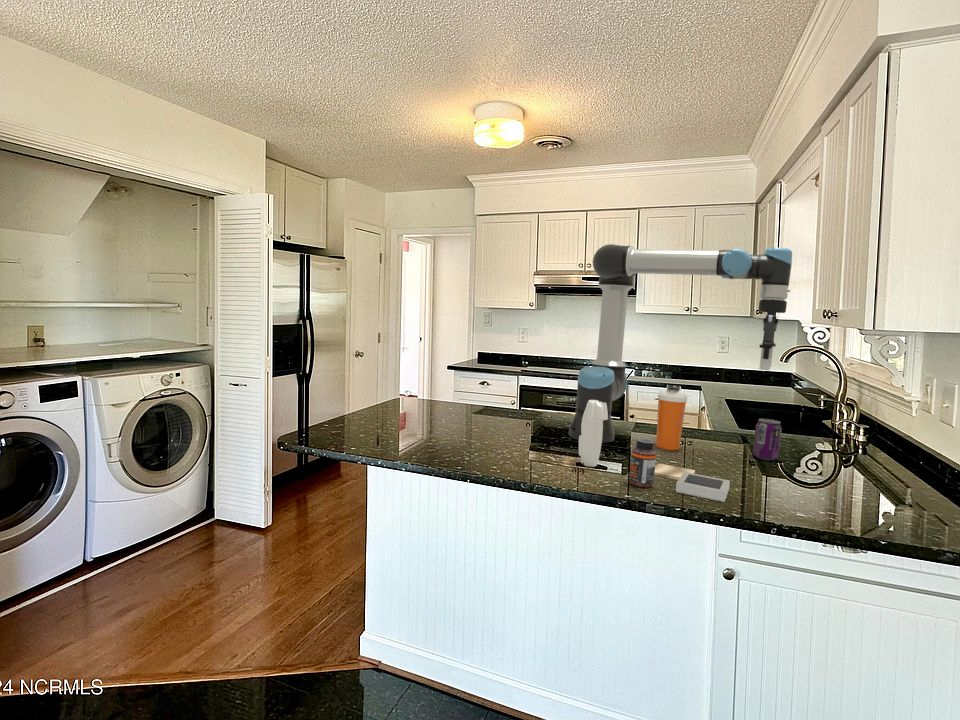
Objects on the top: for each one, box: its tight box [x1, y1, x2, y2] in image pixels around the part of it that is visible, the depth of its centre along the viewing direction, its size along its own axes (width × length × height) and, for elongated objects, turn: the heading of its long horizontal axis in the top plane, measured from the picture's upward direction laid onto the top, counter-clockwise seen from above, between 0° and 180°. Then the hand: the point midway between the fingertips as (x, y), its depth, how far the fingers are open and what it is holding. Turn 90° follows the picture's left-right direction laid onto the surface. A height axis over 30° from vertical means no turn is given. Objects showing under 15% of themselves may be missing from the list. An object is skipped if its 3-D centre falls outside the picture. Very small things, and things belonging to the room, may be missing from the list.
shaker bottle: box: [655, 384, 688, 451], centre depth 180 cm, size 9×9×20 cm
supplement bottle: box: [628, 438, 657, 488], centre depth 140 cm, size 6×6×11 cm
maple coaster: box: [654, 463, 696, 481], centre depth 151 cm, size 10×10×1 cm
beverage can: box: [752, 418, 782, 461], centre depth 173 cm, size 7×7×12 cm
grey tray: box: [675, 472, 731, 503], centre depth 138 cm, size 11×11×2 cm
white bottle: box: [578, 400, 608, 468], centre depth 154 cm, size 7×18×7 cm
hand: (765, 368), depth 173 cm, fingers open, 13 cm apart
